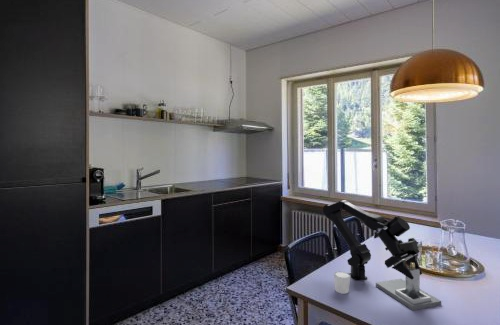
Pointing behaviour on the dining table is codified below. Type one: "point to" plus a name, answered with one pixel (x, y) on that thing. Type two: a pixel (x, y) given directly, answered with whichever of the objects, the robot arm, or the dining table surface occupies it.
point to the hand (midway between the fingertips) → (417, 276)
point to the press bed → (399, 292)
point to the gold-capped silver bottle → (413, 282)
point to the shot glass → (342, 282)
